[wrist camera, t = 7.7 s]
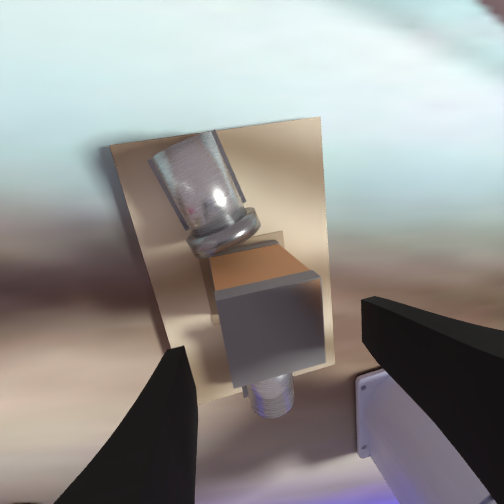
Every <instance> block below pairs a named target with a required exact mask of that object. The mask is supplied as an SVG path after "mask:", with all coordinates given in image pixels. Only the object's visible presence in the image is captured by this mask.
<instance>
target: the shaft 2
mask: <svg viewBox="0 0 504 504" xmlns="http://www.w3.org/2000/svg"><path fill="white" fill-rule="evenodd" d="M242 391H243V395H244V398H245V397H248V396H249V399H250V404H251V407H252V409H253V410H254V412H255V413H257V414H258V415H260V416H262V417H264V418H278V417H281V416H283V415H285V414H286V413H287V412H288V411H289V410H290V409H291V408H292V406H293V403H294V390H293V375H292V373H288V374H284V375H281V376H277V377H274V378H270V379H267V380H263V381H260V382H256V383H253V384H249V385H246V386H242Z"/></svg>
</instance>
